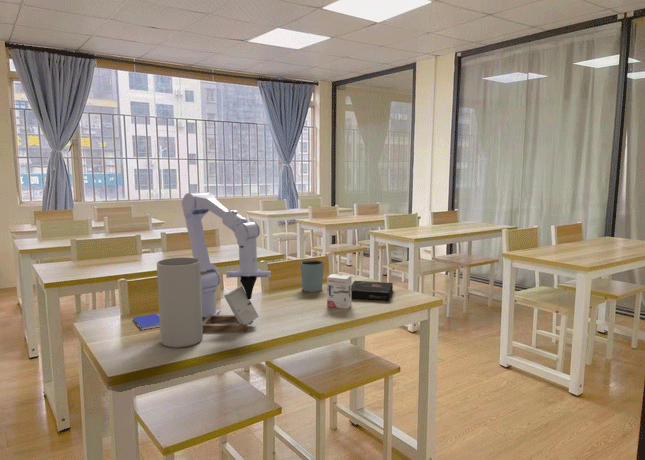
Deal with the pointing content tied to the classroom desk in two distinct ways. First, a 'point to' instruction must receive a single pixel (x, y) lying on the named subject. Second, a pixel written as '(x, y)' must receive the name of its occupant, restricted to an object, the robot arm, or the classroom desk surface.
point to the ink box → (339, 291)
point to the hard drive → (147, 321)
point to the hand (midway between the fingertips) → (249, 298)
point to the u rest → (223, 327)
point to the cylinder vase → (180, 301)
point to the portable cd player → (371, 291)
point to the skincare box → (241, 306)
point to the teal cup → (312, 275)
